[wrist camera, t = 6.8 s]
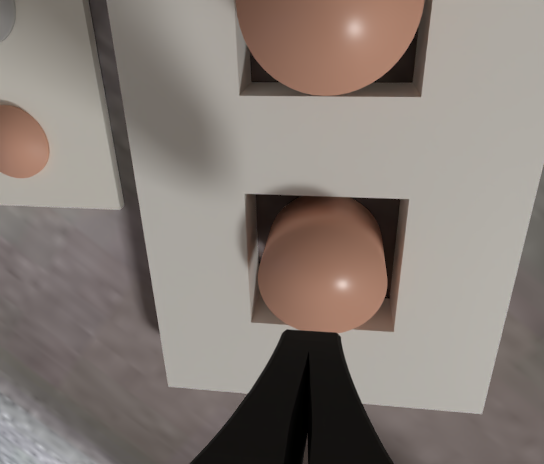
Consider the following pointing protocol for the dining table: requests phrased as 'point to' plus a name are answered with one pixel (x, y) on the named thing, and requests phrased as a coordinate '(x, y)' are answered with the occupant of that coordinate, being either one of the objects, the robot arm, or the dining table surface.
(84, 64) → the pattern card
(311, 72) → the button
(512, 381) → the dining table surface
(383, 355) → the button board
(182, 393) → the dining table surface
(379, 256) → the button
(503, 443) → the dining table surface
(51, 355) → the dining table surface
